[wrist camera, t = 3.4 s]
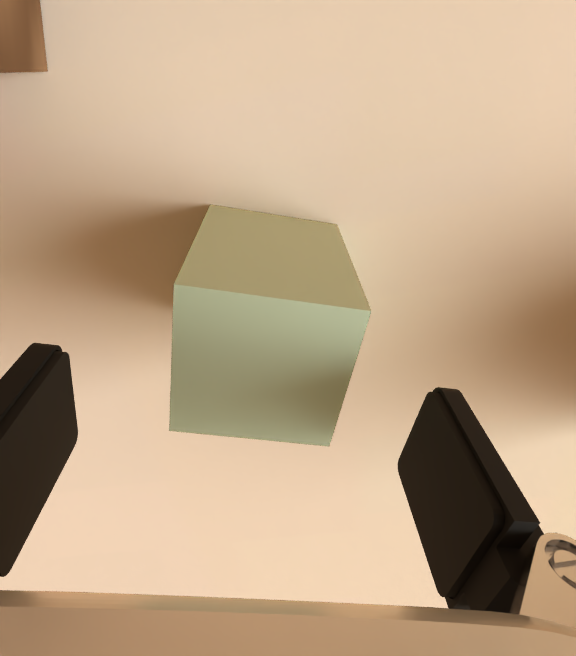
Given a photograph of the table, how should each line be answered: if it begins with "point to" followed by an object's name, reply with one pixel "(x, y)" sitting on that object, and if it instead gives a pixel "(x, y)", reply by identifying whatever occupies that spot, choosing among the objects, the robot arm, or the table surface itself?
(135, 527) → the table surface
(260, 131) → the table surface
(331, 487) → the table surface
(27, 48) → the walnut base
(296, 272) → the sage block
